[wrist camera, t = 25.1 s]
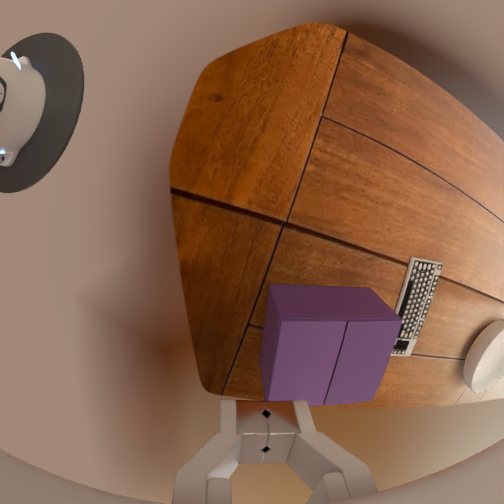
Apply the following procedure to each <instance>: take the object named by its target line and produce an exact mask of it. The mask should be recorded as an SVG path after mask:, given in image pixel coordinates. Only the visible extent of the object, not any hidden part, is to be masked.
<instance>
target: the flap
mask: <svg viewBox="0 0 504 504" xmlns="http://www.w3.org/2000/svg"><path fill="white" fill-rule="evenodd" d="M346 323H347V321H346V320H281V323H280V330H279V336H278V342H277V348H276V355H275V361H274V367H273V373H272V378H271V384H270V390H269V395H268V401H285V400H306V401H307V403H308V406H318V405H323V402H324V399H325V396H326V393H327V389H328V386H329V383H330V380H331V377H332V373H333V370H334V367H335V363H336V360H337V356H338V353H339V349H340V346H341V342H342V338H343V335H344V331H345V327H346Z"/></svg>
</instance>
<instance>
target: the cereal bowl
mask: <svg viewBox="0 0 504 504" xmlns="http://www.w3.org/2000/svg"><path fill="white" fill-rule="evenodd" d="M503 375H504V320H499V321H495V322H493V323H492V324H490V325H489V326H487V327H486V328H485V329H484V330H483V331H482V332H481V333H480V334H479V335H478V337H477V338H476V340H475V341H474V342H473V344H472V346H471V348H470V350H469V352H468V354H467V356H466V359H465V363H464V380H465V382H466V384H467V385H468V387H469V388H470V389H471V390H472V391H473V392H474V393H482V392H484V391H486V390H488V389H490V388H491V387H492V386H493V385H495V384H496V383H497V382H498V381H499V380H500V379H501V378H502V376H503Z"/></svg>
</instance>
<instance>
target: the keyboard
mask: <svg viewBox="0 0 504 504" xmlns="http://www.w3.org/2000/svg"><path fill="white" fill-rule="evenodd" d="M442 265H443V263H442V262H438V261H433V260H427V259H422V258H417V257H410V261H409V264H408V268H407V272H406V275H405V279H404V282H403V285H402V289H401V292H400V295H399V298H398V301H397V305H396V308H395V311H394V312H395V313H396V314H397V315H398V316H399V317H400V319H402V320H403V321H402V324H401V327H400V330H399V333H398V336H397V339H396V342H395V345H394V348H393V351H392V353H391V356H410V355H411V352H412V350H413V348H414V345H415V343H416V340H417V338H418V335H419V333H420V330H421V328H422V325H423V323H424V320H425V317H426V315H427V312H428V309H429V306H430V303H431V300H432V298H433V295H434V291H435V288H436V285H437V282H438V279H439V275H440V272H441V269H442Z"/></svg>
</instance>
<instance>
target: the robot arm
mask: <svg viewBox="0 0 504 504" xmlns="http://www.w3.org/2000/svg"><path fill="white" fill-rule="evenodd" d="M11 55H12V58H13V60H10V59H6V58H2V57H0V165H1V166H8V167H9V166H11V165H12V164H13V163H14V161H15V159H16V157H17V155H18V152H19V150H20V149H21V148H22V147H23V146H24V145H25V144H26V143H27V141H28V140H29V139H30V138H31V136H32V135H33V133H34V132H35V130H36V128H37V126H38V124H39V122H40V119H41V116H42V113H43V110H44V105H45V97H46V90H45V83H44V80H43V78H42V76H41V74H40V73H39V72H38V71H37V70H35V69H34V68H33V67H32V66H31V63H30V60H29V58H28V57H25V56H22V57H20V58H18V59H17V58H16V56H15V54H14V53H13V52H11ZM244 463H245V464H246V463H287V465H288V466H289V467H290V468H291V469H292V470H293V471H294V472H295V473H296V474H297V475H298V476H299V477H300V478H301V480H302V481H303V482H304V483H305V484H306V485H307V486H308V487H309V488H310V489H311V490H312V491H313V493H312V495H311V497H310V498H309V500H308V501H307V503H306V504H504V439H502V440H500V441H499V442H497V443H495V444H494V445H492V446H490V447H488V448H486V449H485V450H483V451H481V452H479V453H477V454H475V455H473V456H471V457H470V458H467V459H465V460H463V461H461V462H459V463H457V464H455V465H452V466H450V467H448V468H446V469H443V470H441V471H438V472H436V473H433V474H431V475H429V476H426V477H423V478H420V479H417V480H415V481H412V482H409V483H406V484H403V485H400V486H397V487H393V488H390V489H386V490H383V491H379V492H378V490H377V487H376V485H375V482H374V480H373V478H372V475H371V473H370V470H369V468H368V466H367V465H366V464H365V463H363V462H362V461H361V460H359V459H358V458H356V457H355V456H353V455H352V454H350V453H349V452H348V451H346V450H345V449H343V448H342V447H341V446H339V445H338V444H337V443H335V442H334V441H332V440H331V439H330V438H328V437H327V436H326V435H324V434H323V433H322V432H316V429H315V425H314V422H313V420H312V416H311V413H310V410H309V406H308V403H307V401H306V400H285V401H248V400H236V401H235V400H227V399H226V400H225V399H221V402H220V427H219V433H216V434H214V435H213V436H212V438H211V439H210V440H209V441H208V442H207V443H206V444H205V445H204V446H203V447H202V448H201V449H200V450H199V451H198V452H197V453H196V454H195V455H194V456H193V457H192V458H191V459H190V460H189V461H188V462H187V463H186V464H185V465H184V466H182V467H181V468H180V469H179V470H178V471H177V472H176V475H175V482H174V489H173V498H172V504H232V497H231V481H229V480H228V478H229V477H230V476H231V474H232V473H233V471H234V470H235V469H236V467H237V466H238V464H244ZM0 504H162V503H155V502H149V501H145V500H139V499H135V498H130V497H125V496H121V495H117V494H113V493H109V492H106V491H102V490H99V489H95V488H92V487H89V486H86V485H83V484H80V483H76V482H74V481H71V480H68V479H65V478H63V477H60V476H57V475H55V474H52V473H50V472H48V471H45V470H43V469H40V468H38V467H36V466H34V465H32V464H29V463H27V462H25V461H23V460H21V459H19V458H17V457H15V456H13V455H11V454H9V453H7V452H6V451H4V450H2V449H0Z"/></svg>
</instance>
